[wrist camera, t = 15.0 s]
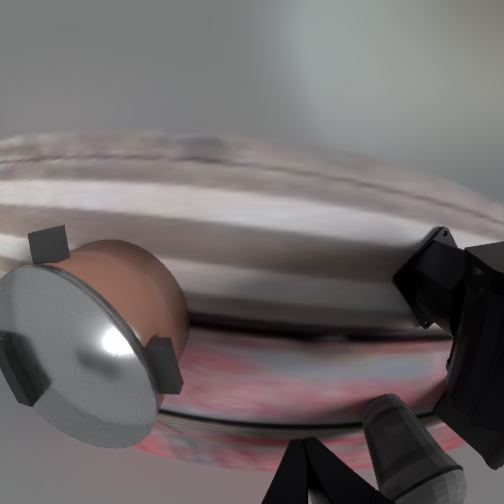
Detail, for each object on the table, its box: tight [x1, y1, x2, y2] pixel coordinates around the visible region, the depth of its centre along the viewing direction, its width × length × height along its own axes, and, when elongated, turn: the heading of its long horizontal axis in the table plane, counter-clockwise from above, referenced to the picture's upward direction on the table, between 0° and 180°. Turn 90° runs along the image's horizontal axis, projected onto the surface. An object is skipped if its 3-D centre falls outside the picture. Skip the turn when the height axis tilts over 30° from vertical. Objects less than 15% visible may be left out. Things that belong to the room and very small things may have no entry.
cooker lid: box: [0, 264, 160, 448], centre depth 12 cm, size 12×12×2 cm
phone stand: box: [433, 390, 504, 470], centre depth 17 cm, size 9×6×12 cm, turn 74°
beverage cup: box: [361, 394, 467, 504], centre depth 13 cm, size 7×7×20 cm
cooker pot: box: [28, 225, 189, 409], centre depth 17 cm, size 13×16×8 cm
